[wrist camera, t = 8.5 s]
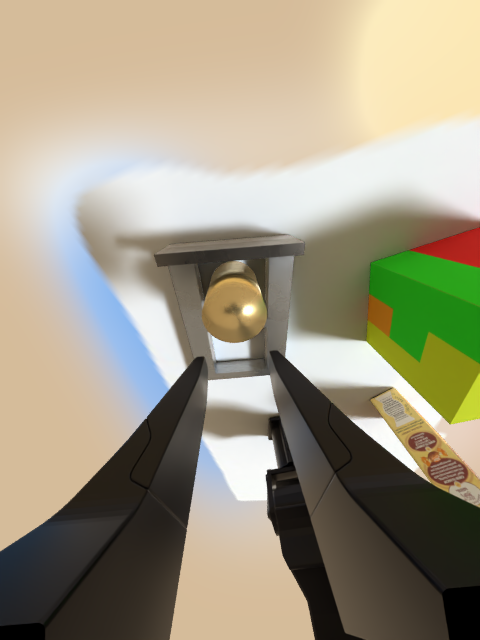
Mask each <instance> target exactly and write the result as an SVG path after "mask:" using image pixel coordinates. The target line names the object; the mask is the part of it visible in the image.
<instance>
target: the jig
mask: <svg viewBox="0 0 480 640" xmlns="http://www.w3.org/2000/svg"><path fill="white" fill-rule="evenodd" d="M304 248H305V242H303V241H301V240H299V239H297V238H295V237H293V236H291V235H278V236H266V237H253V238H240V239H228V240H215V241H203V242H190V243H178V244H169V245H168V246H166V247H165V248H163V249H162V250H160V251H159V252H157V253H155V254H154V256H155V260H156V263H157V266H158V267H160V266H168V267H169V271H170V275H171V278H172V282H173V285H174V289H175V293H176V296H177V300H178V303H179V307H180V311H181V314H182V318H183V321H184V325H185V329H186V332H187V336H188V339H189V343H190V347H191V350H192V354H193V357H194V359H195V358H196V357H199V356H204V357H205V358H206V362H207V367H208V380H217V379H229V378H240V377H252V376H264V375H270V371H269V365H268V360H269V351H271V350H278V351H279V352H280V353H281V354H282V355H283V356H284V357H285V351H286V340H287V329H288V318H289V307H290V296H291V285H292V274H293V263H294V256H297V255H304ZM260 258H265V306H266V309H267V320H266V323H265V326H264V327H265V345H264V359H252V360H240V361H228V362H216V357H215V352H214V347H213V341H212V336H211V334H210V333H209V332H208V331H207V329H206V328H205V326H204V324H203V321H202V309H203V305H204V302H205V299H204V294H203V288H202V283H201V278H200V272H199V267H198V263H210V262H222V261H235V260H247V259H260ZM264 327H263V328H264Z"/></svg>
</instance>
